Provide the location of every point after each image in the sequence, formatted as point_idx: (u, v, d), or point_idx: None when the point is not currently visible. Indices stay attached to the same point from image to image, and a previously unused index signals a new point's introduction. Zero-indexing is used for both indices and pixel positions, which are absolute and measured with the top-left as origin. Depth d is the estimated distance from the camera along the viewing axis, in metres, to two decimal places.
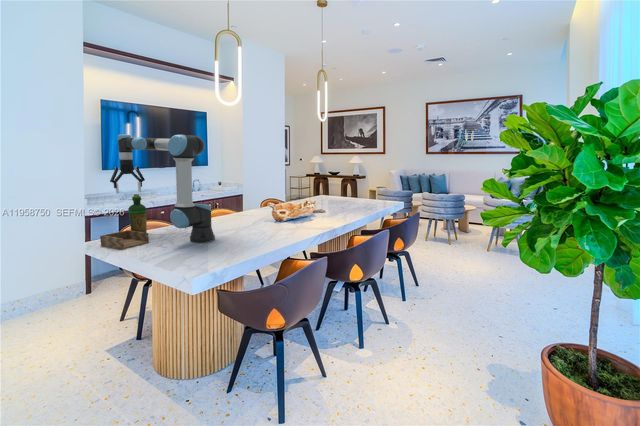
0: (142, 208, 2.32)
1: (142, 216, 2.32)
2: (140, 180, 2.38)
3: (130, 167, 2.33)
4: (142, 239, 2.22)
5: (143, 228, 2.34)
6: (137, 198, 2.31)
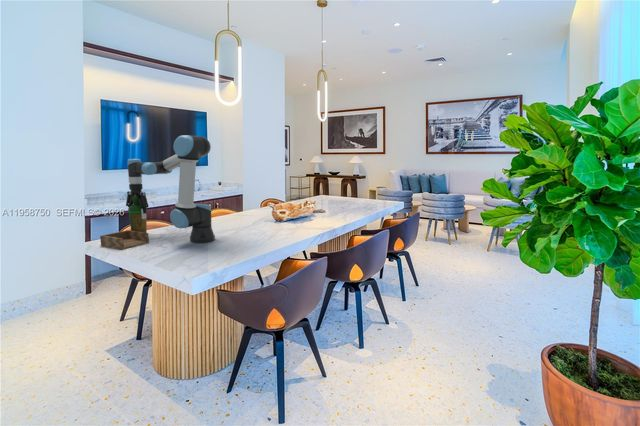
0: None
1: None
2: (142, 207, 2.30)
3: (136, 191, 2.30)
4: (142, 239, 2.22)
5: (143, 228, 2.34)
6: None
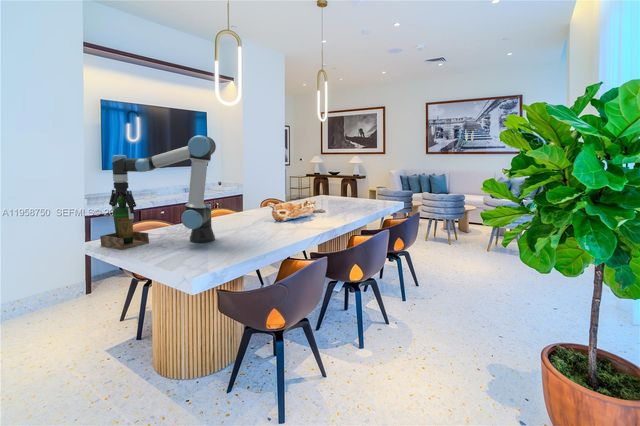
0: None
1: (128, 220, 2.13)
2: (129, 206, 2.10)
3: (121, 190, 2.11)
4: (142, 239, 2.22)
5: (129, 232, 2.15)
6: (122, 200, 2.12)
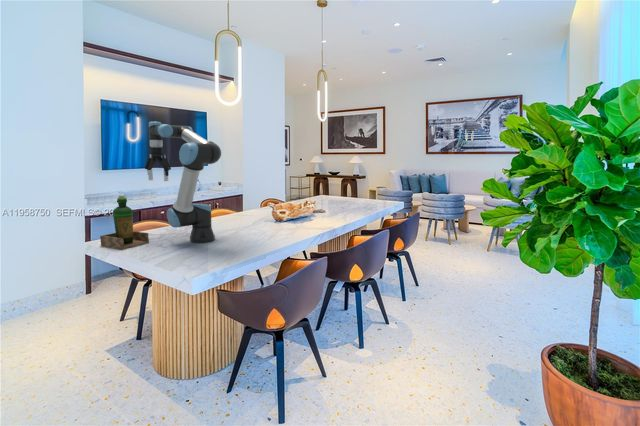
0: (128, 211, 2.13)
1: (128, 220, 2.13)
2: (164, 169, 2.28)
3: (157, 155, 2.29)
4: (142, 239, 2.22)
5: (129, 232, 2.15)
6: (122, 200, 2.12)
